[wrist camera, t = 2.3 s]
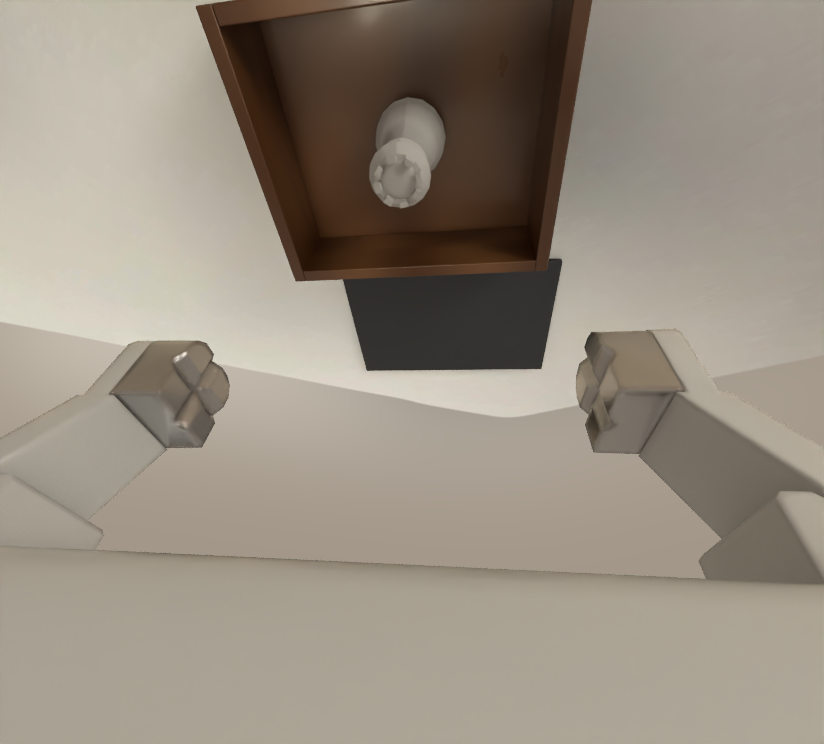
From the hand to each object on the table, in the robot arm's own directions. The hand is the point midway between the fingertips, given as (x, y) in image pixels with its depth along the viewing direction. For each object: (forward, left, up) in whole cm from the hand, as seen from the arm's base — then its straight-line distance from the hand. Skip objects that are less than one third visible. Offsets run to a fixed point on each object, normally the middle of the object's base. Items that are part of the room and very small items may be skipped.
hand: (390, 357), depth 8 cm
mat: (0, +17, -23) cm, 28 cm away
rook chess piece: (+2, +1, -23) cm, 23 cm away
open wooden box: (+2, +1, -23) cm, 23 cm away
